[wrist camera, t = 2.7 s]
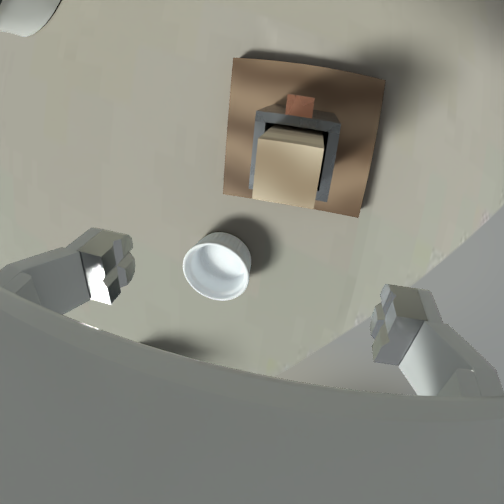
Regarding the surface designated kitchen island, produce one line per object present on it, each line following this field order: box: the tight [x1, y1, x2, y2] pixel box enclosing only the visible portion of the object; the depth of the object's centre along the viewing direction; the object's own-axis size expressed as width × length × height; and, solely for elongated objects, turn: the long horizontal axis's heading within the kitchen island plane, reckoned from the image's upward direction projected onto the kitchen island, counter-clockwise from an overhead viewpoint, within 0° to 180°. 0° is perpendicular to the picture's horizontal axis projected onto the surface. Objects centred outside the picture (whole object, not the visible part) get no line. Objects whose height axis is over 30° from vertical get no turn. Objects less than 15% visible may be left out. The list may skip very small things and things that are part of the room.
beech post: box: [252, 123, 324, 209], centre depth 25 cm, size 4×4×15 cm
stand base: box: [223, 58, 386, 218], centre depth 33 cm, size 16×16×2 cm
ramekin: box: [183, 232, 251, 300], centre depth 42 cm, size 9×9×4 cm
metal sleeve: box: [249, 94, 341, 202], centre depth 27 cm, size 8×6×10 cm
